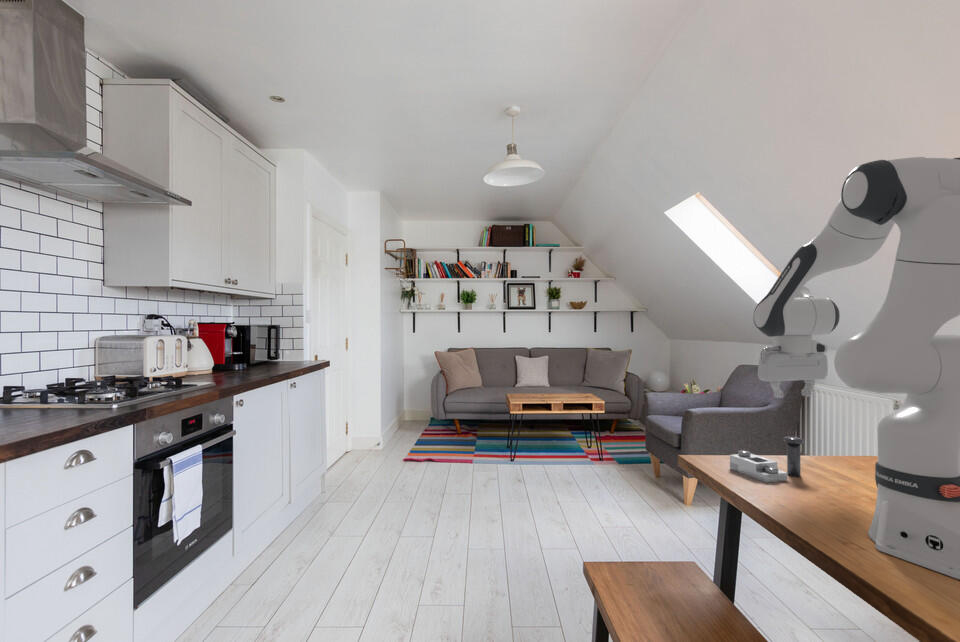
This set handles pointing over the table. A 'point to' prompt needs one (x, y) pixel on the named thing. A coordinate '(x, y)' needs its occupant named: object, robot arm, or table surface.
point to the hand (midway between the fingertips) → (792, 396)
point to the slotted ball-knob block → (756, 467)
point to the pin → (793, 456)
